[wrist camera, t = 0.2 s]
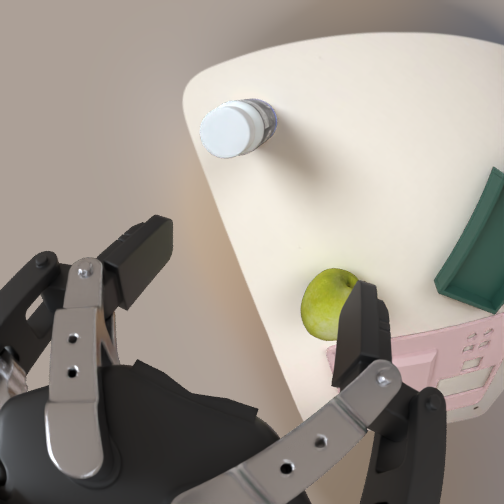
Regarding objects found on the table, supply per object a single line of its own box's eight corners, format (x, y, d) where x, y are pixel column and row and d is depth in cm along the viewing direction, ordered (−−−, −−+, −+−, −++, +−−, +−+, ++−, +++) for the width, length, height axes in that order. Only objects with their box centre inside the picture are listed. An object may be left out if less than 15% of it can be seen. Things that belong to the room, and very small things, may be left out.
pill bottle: (247, 150, 27) (215, 174, 20) (224, 113, 25) (183, 124, 19) (287, 129, 25) (267, 145, 18) (262, 89, 23) (232, 90, 16)
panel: (348, 421, 54) (347, 429, 53) (324, 346, 40) (323, 357, 38) (479, 400, 39) (480, 408, 37) (521, 306, 25) (526, 316, 23)
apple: (383, 270, 30) (389, 318, 24) (344, 315, 35) (340, 362, 29) (329, 241, 30) (324, 286, 24) (294, 292, 36) (282, 338, 29)
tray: (493, 166, 19) (504, 173, 17) (545, 209, 17) (555, 218, 15) (433, 280, 28) (438, 293, 26) (489, 302, 27) (494, 314, 25)
